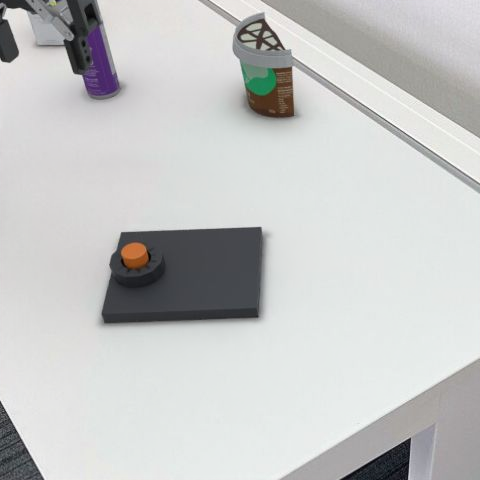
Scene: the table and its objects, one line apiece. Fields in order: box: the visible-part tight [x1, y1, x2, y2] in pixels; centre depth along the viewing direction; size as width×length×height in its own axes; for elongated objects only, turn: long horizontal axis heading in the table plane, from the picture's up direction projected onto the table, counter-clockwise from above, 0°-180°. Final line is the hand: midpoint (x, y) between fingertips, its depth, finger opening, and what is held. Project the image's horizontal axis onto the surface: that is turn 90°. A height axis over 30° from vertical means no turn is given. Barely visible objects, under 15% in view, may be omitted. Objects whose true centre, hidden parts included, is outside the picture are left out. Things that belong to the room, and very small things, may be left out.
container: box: [65, 0, 121, 100], centre depth 104 cm, size 5×5×15 cm
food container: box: [231, 11, 295, 118], centre depth 103 cm, size 12×6×10 cm, turn 22°
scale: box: [100, 226, 264, 324], centre depth 83 cm, size 16×13×3 cm
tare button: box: [121, 243, 149, 269], centre depth 81 cm, size 3×3×2 cm
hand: (46, 65), depth 78 cm, fingers open, 8 cm apart
